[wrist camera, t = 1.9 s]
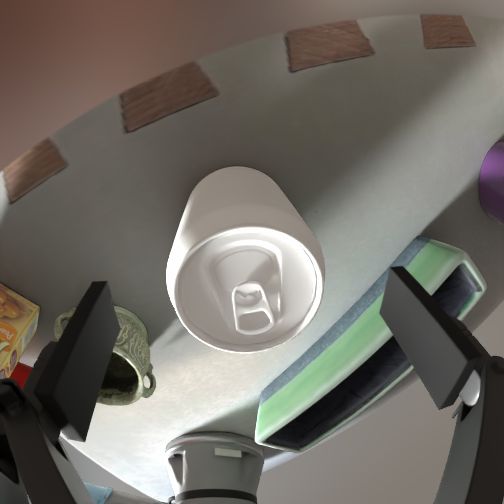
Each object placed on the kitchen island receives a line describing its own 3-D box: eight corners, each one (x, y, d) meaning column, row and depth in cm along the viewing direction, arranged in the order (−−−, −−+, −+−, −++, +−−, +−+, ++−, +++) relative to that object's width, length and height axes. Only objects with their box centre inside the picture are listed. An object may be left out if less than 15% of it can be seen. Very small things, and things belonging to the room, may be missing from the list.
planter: (290, 410, 37) (300, 455, 31) (246, 394, 35) (251, 443, 28) (450, 255, 29) (490, 288, 23) (419, 216, 27) (465, 248, 20)
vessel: (53, 321, 28) (30, 359, 22) (89, 271, 26) (64, 310, 20) (137, 381, 33) (128, 424, 27) (184, 344, 31) (180, 391, 25)
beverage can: (278, 156, 24) (327, 197, 13) (291, 249, 27) (335, 341, 16) (175, 177, 23) (138, 236, 13) (199, 267, 27) (190, 369, 16)
